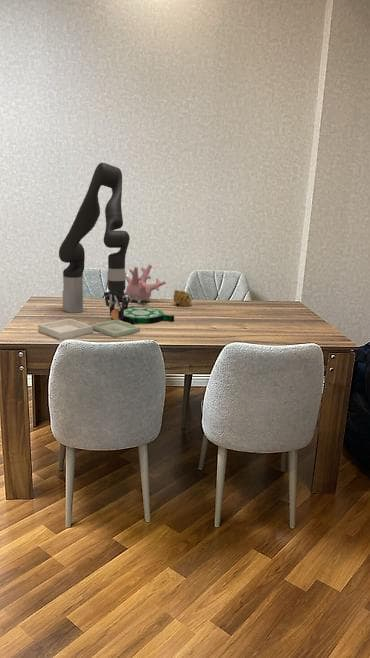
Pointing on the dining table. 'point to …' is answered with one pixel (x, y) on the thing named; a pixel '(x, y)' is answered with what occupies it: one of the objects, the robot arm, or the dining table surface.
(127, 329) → the tray
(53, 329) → the cream square dish
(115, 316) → the ball
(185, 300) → the rock
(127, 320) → the emblem
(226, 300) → the dining table surface
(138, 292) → the toy
